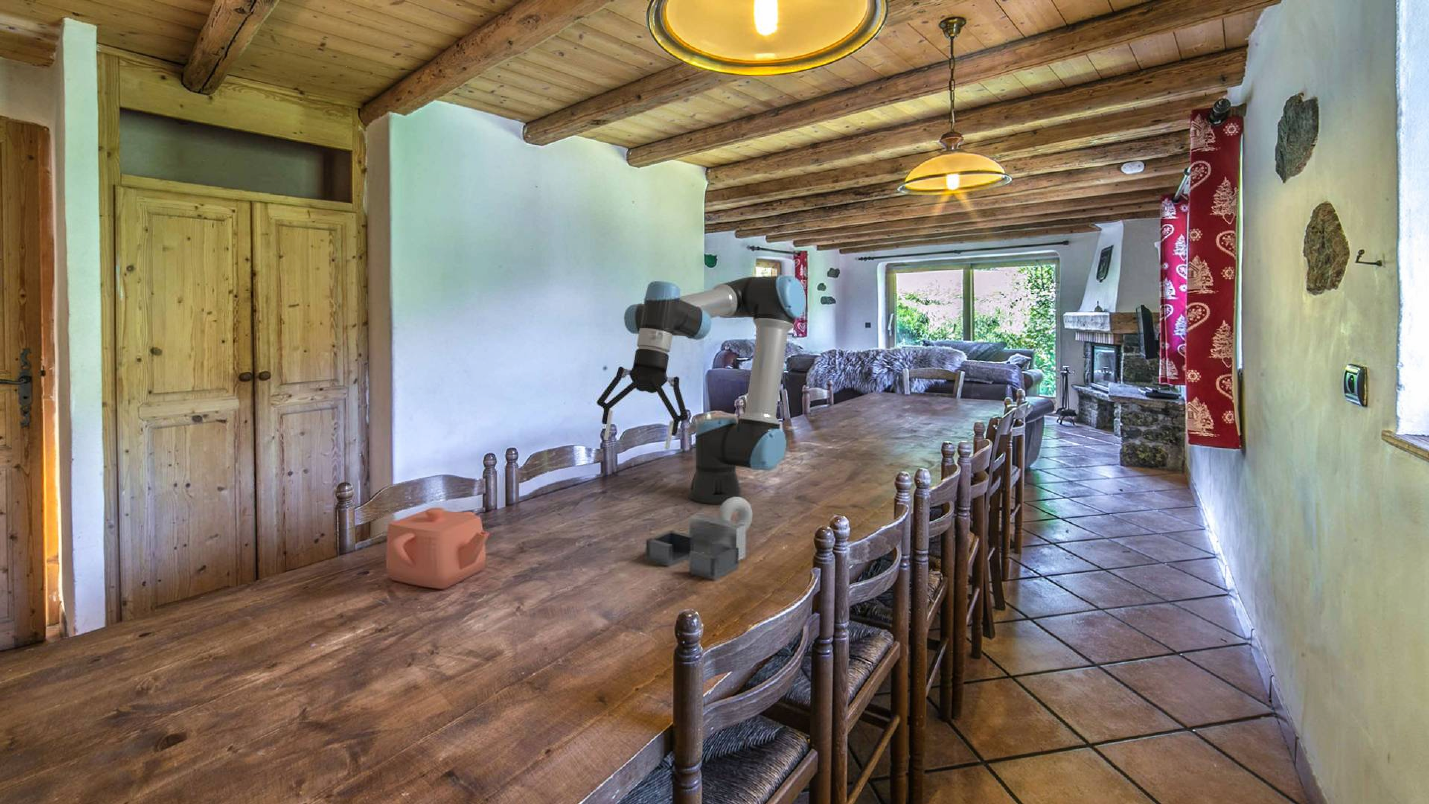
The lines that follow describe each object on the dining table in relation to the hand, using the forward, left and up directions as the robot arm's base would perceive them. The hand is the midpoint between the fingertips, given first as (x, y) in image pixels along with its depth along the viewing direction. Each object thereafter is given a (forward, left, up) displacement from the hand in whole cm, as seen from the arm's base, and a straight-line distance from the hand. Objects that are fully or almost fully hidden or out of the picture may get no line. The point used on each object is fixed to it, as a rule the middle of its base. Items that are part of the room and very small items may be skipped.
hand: (636, 445), depth 150 cm
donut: (-21, +12, -24) cm, 34 cm away
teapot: (+35, -19, -24) cm, 47 cm away
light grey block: (-10, +15, -24) cm, 30 cm away
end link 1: (-1, +9, -24) cm, 26 cm away
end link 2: (-1, +21, -24) cm, 32 cm away
